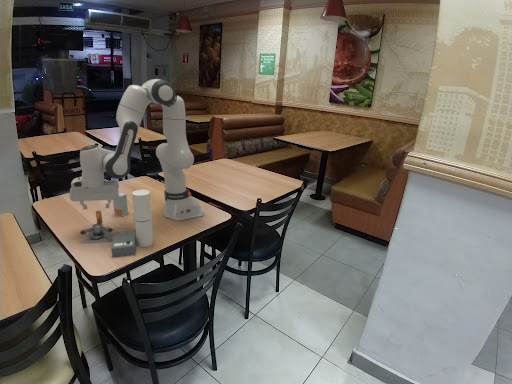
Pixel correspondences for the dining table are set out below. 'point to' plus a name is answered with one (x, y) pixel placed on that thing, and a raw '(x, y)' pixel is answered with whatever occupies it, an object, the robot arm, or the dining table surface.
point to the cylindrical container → (143, 217)
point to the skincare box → (121, 205)
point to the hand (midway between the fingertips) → (96, 208)
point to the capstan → (97, 228)
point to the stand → (118, 242)
